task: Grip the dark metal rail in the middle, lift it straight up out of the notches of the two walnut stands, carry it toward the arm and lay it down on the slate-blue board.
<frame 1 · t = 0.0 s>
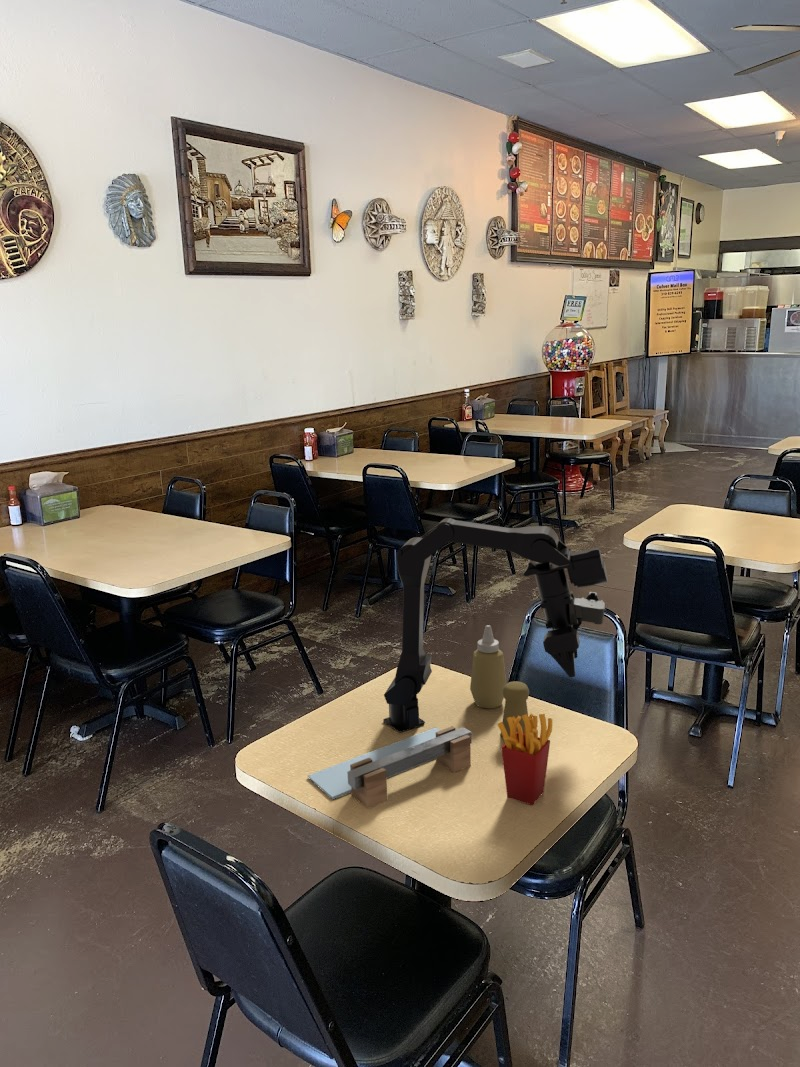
hand: (573, 667, 155), 15 cm above the table, tool pointing down, fingers open, 9 cm apart
french fries: (524, 791, 142), on the table
stand far: (453, 763, 151), on the table
pepper mill: (515, 735, 162), on the table
squeeze bottle: (488, 704, 176), on the table
stand near: (369, 797, 141), on the table
mat: (388, 762, 153), on the table
rail: (412, 762, 145), point 3 cm above the table, touching stand far, stand near
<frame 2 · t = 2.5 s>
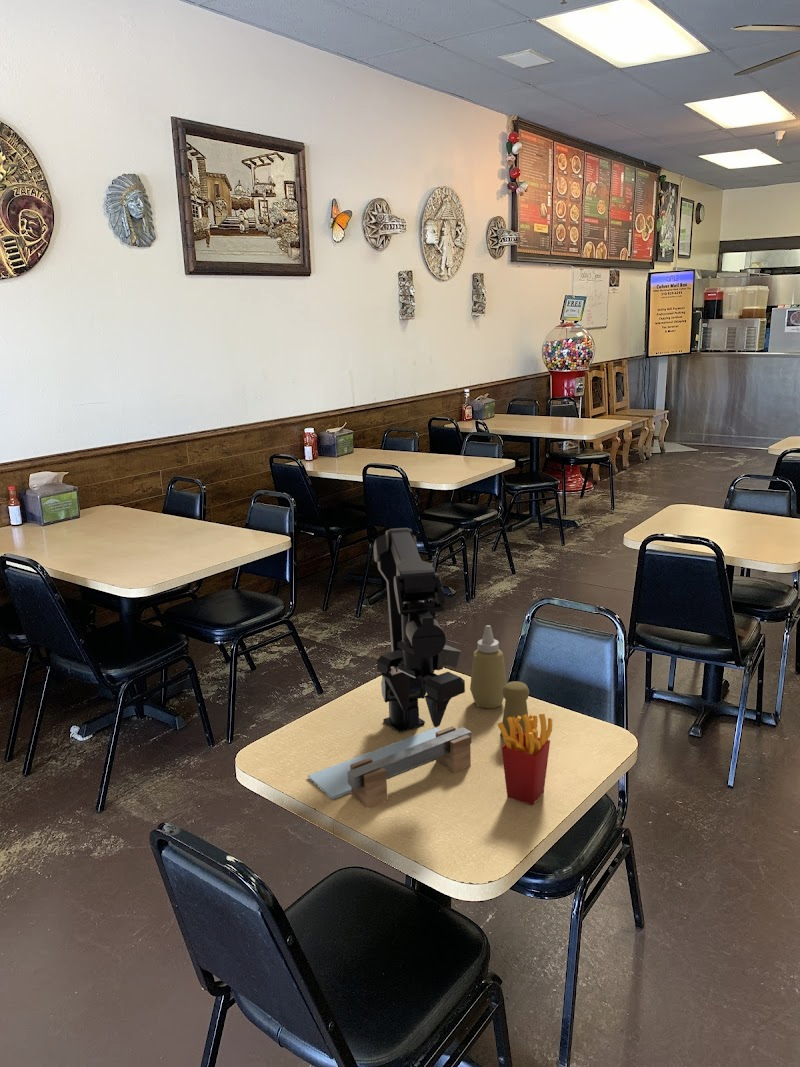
hand: (420, 717, 145), 12 cm above the table, tool pointing down, fingers open, 9 cm apart
nothing on the table moved.
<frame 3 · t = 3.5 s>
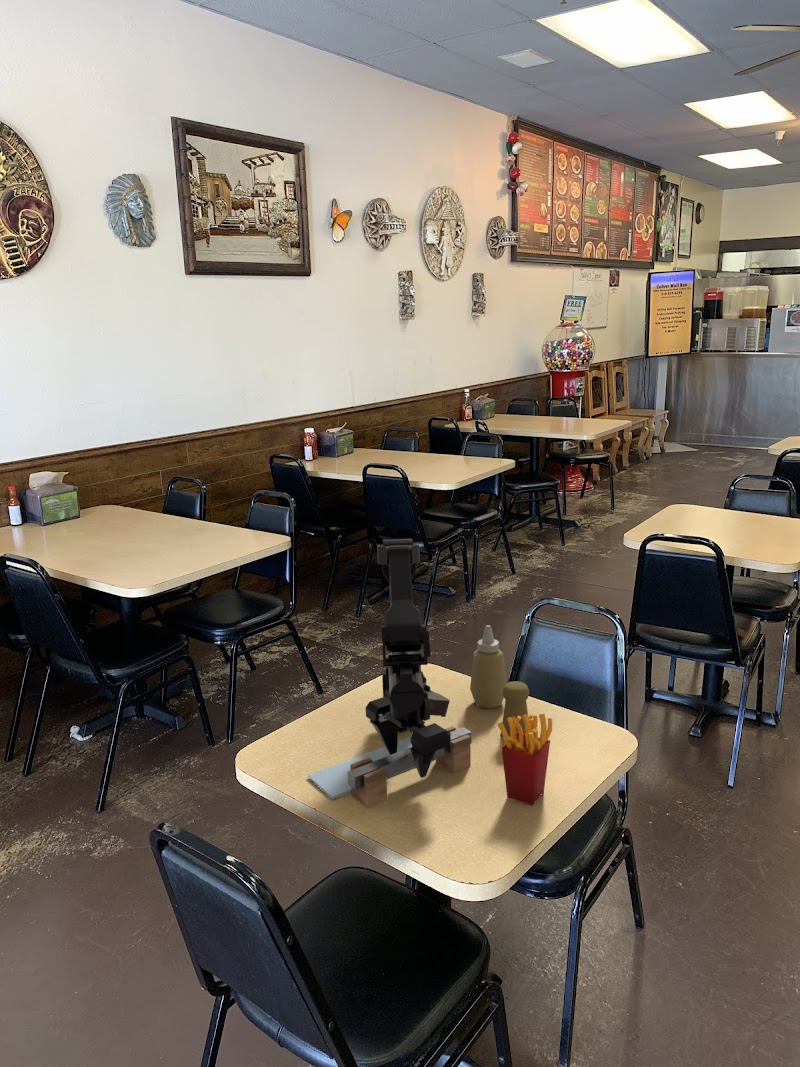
hand: (408, 766, 145), 3 cm above the table, tool pointing down, fingers open, 9 cm apart
nothing on the table moved.
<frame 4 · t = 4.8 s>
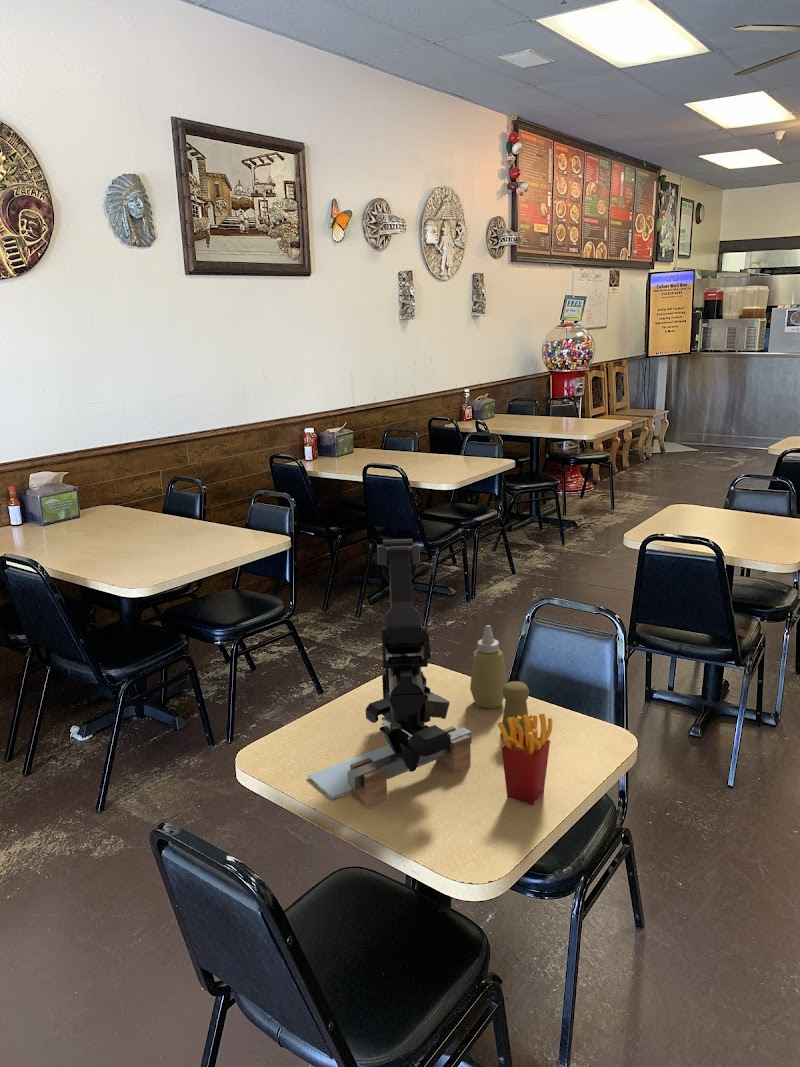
hand: (408, 767, 145), 3 cm above the table, tool pointing down, fingers closed on rail, 2 cm apart
rail: (412, 762, 145), point 3 cm above the table, touching gripper, stand far, stand near
everything else where it was.
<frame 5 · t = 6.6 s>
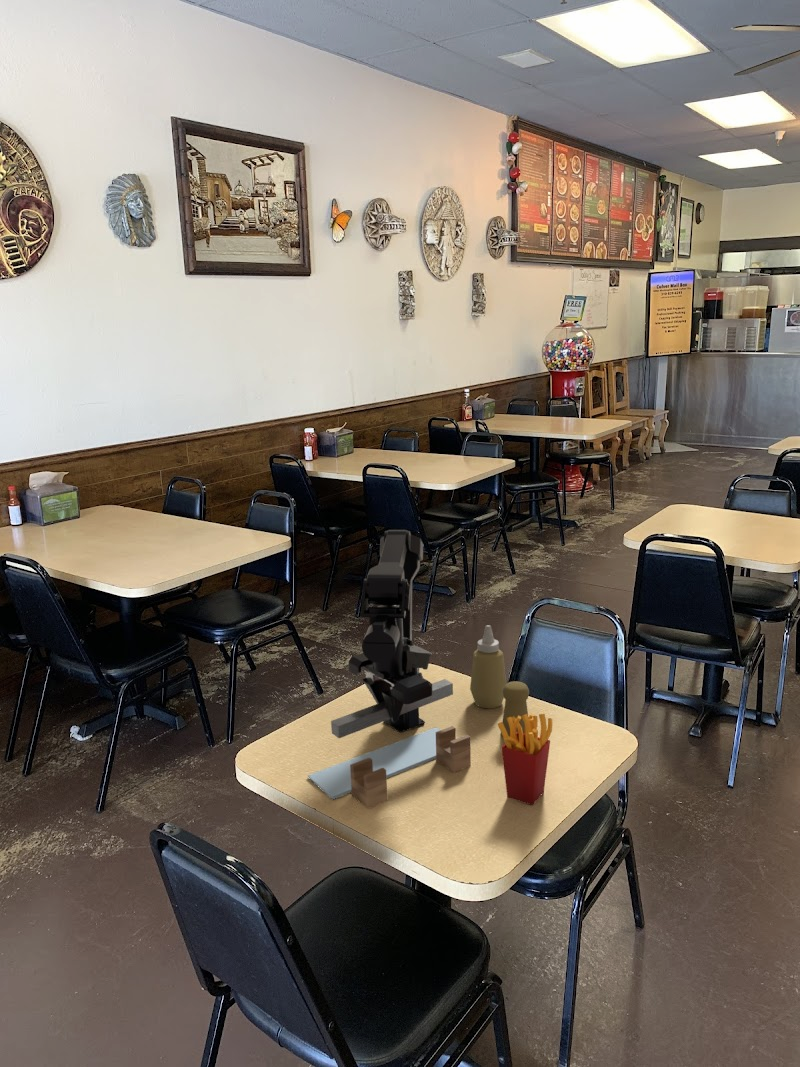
hand: (390, 718, 148), 10 cm above the table, tool pointing down, fingers closed on rail, 2 cm apart
rail: (394, 713, 148), point 11 cm above the table, touching gripper
everything else where it was.
when the fingers open (1 cm above the table, at t = 8.6 s): rail drops 1 cm, resting on mat.
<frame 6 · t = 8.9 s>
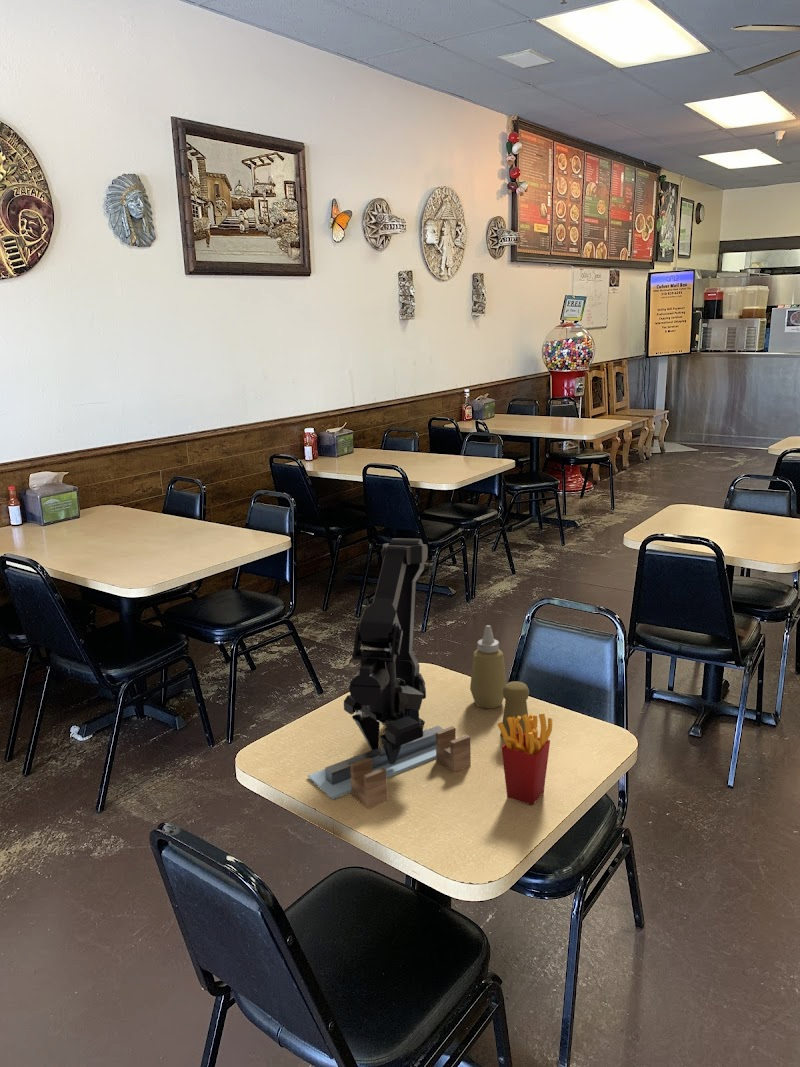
hand: (383, 757, 152), 1 cm above the table, tool pointing down, fingers open, 6 cm apart
rail: (388, 759, 152), point 1 cm above the table, touching mat
everything else where it was.
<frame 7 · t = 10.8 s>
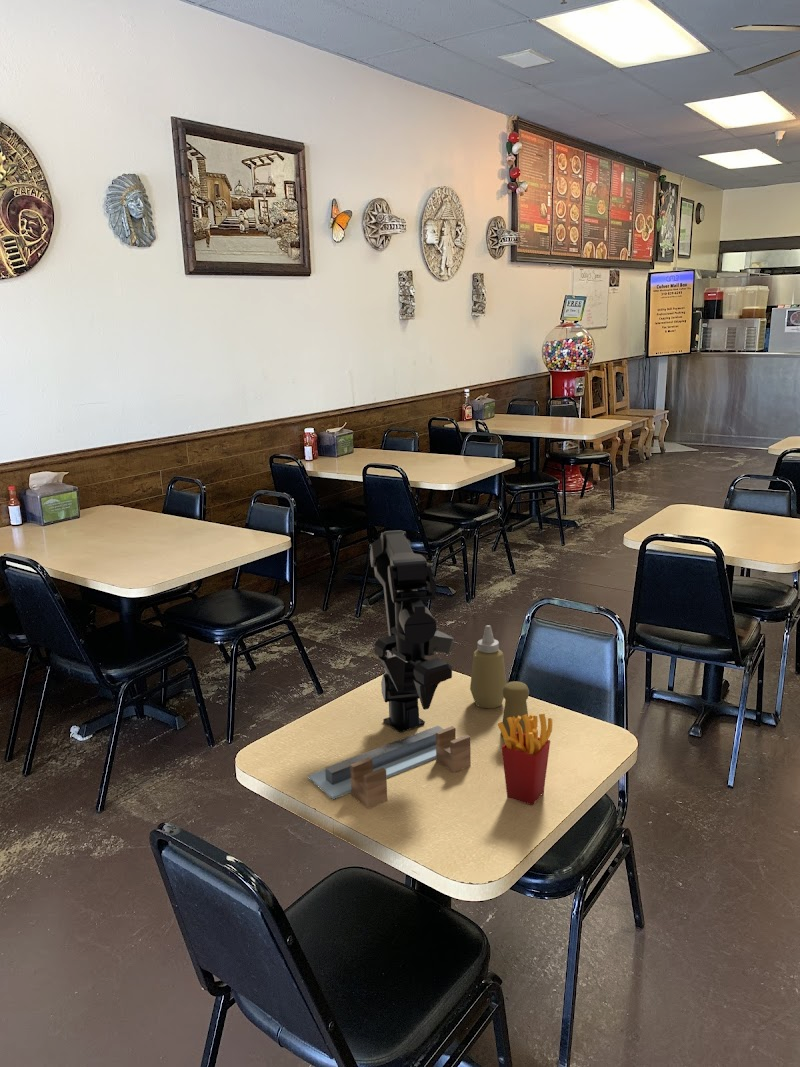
hand: (412, 699, 153), 11 cm above the table, tool pointing down, fingers open, 9 cm apart
nothing on the table moved.
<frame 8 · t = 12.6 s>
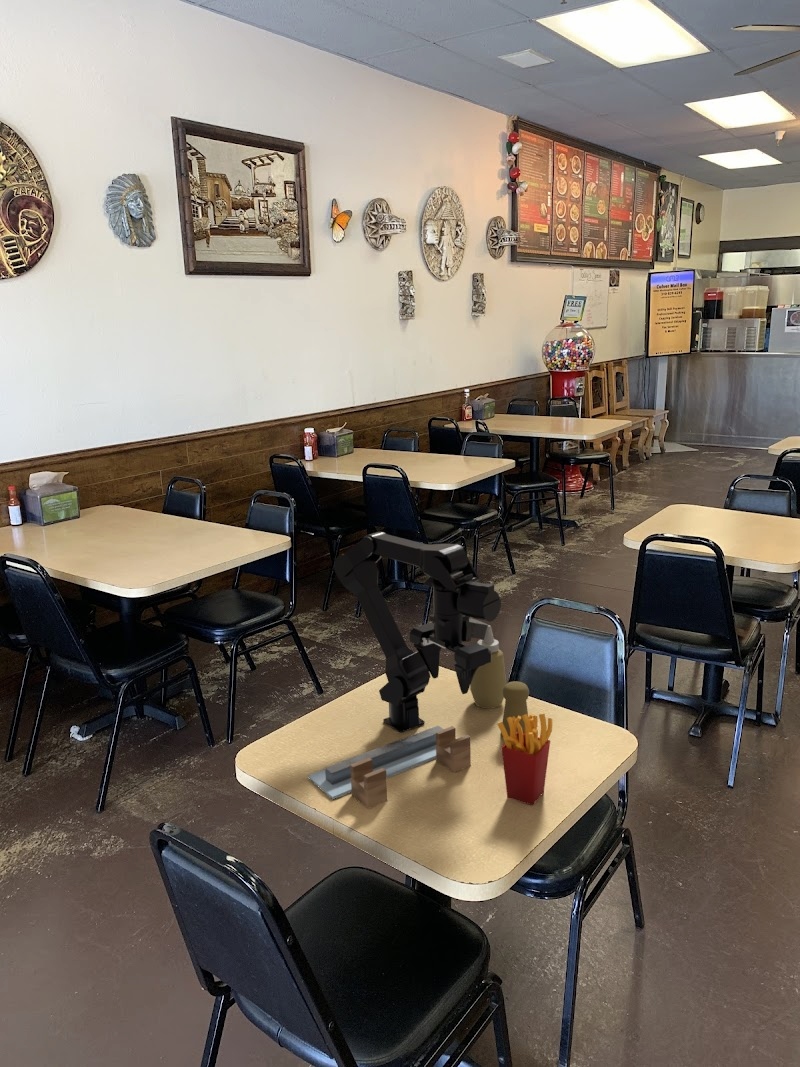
hand: (449, 685, 157), 12 cm above the table, tool pointing down, fingers open, 9 cm apart
nothing on the table moved.
at the end: rail inside the target area (0.0 cm from its centre), point 0.6 cm above the table; rail touching mat; the gripper is holding nothing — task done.
